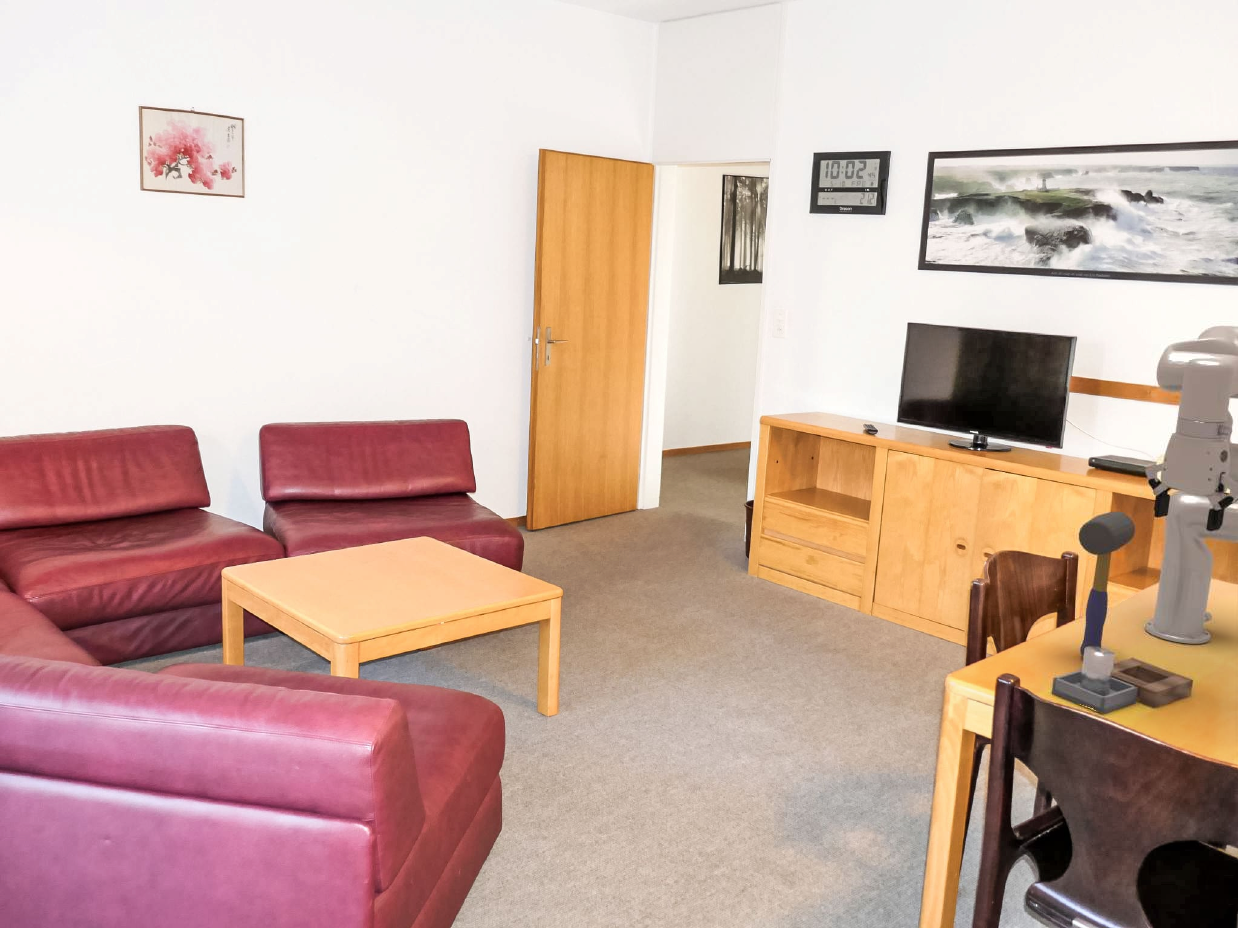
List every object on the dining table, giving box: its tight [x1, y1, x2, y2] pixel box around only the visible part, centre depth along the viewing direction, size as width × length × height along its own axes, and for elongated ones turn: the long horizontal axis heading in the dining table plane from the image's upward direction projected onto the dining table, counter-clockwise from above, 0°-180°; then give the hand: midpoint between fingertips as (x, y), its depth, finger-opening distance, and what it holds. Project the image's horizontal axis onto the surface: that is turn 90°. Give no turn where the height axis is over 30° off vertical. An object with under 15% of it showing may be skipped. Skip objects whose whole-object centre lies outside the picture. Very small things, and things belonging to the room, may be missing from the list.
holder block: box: [1112, 657, 1194, 709], centre depth 198 cm, size 12×12×3 cm
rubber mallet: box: [1078, 511, 1136, 659], centre depth 210 cm, size 12×8×30 cm, turn 137°
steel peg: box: [1080, 646, 1116, 696], centre depth 193 cm, size 5×5×8 cm
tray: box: [1051, 669, 1138, 715], centre depth 194 cm, size 10×10×3 cm
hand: (1186, 523), depth 190 cm, fingers open, 9 cm apart
